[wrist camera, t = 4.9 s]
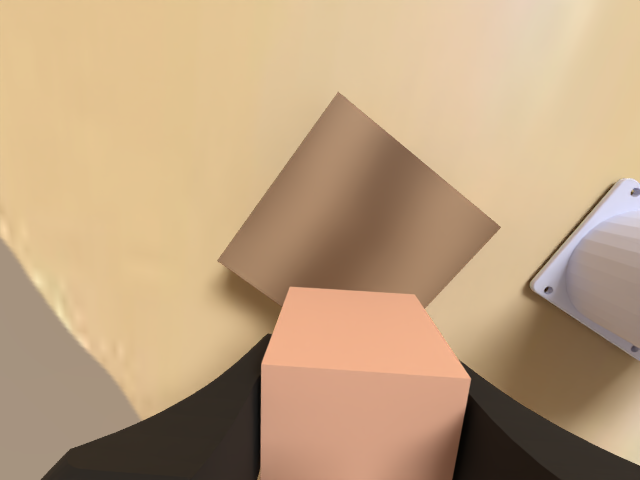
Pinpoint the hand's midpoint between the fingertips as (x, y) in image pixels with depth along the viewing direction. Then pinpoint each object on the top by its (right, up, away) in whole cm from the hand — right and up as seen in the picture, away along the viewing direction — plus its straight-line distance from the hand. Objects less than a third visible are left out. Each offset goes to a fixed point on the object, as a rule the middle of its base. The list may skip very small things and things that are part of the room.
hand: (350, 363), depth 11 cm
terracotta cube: (0, 0, +2) cm, 2 cm away
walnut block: (+1, +5, +8) cm, 9 cm away
